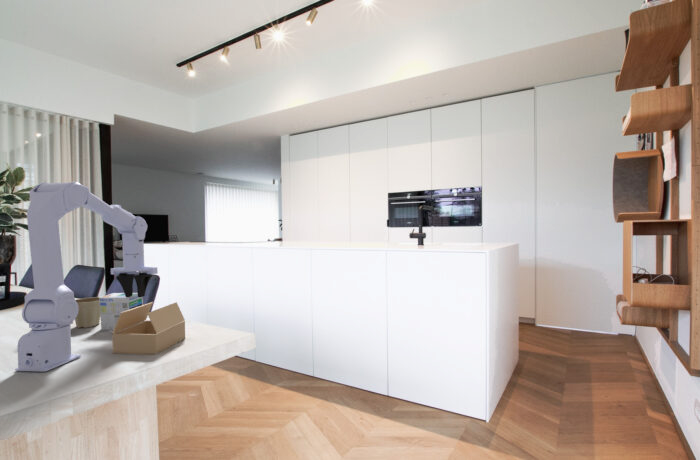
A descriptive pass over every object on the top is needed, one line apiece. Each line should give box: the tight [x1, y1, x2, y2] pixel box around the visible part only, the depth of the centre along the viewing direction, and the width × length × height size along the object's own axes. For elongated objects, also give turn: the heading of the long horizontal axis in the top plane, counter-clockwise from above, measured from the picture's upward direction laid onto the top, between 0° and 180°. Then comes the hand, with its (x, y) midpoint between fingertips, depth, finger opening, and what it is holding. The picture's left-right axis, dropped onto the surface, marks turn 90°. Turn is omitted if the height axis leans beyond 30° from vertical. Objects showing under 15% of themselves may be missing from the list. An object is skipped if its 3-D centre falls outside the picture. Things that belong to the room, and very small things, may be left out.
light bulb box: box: [98, 292, 144, 331], centre depth 116 cm, size 11×7×11 cm, turn 84°
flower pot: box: [74, 296, 101, 329], centre depth 119 cm, size 9×9×9 cm
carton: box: [112, 319, 186, 355], centre depth 98 cm, size 13×12×5 cm
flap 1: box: [112, 301, 154, 334], centre depth 98 cm, size 12×6×1 cm
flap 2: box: [147, 302, 186, 334], centre depth 97 cm, size 12×6×1 cm
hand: (135, 296), depth 113 cm, fingers open, 4 cm apart
